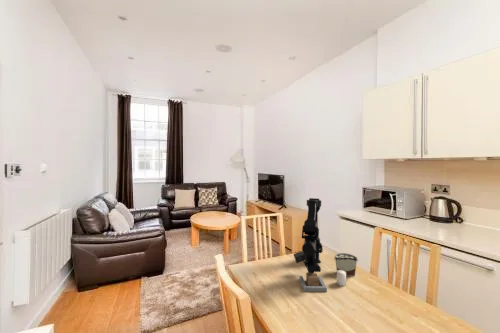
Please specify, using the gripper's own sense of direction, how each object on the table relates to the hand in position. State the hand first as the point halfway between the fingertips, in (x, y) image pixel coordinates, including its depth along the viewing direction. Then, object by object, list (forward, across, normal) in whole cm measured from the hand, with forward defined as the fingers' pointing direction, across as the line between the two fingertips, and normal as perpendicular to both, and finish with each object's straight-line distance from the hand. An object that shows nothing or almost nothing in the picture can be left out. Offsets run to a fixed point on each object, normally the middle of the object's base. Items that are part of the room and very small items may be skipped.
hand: (310, 277), depth 119 cm
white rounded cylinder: (+2, +3, +15) cm, 15 cm away
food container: (+2, -9, +21) cm, 23 cm away
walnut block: (+2, +4, 0) cm, 5 cm away
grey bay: (+2, +4, 0) cm, 4 cm away
